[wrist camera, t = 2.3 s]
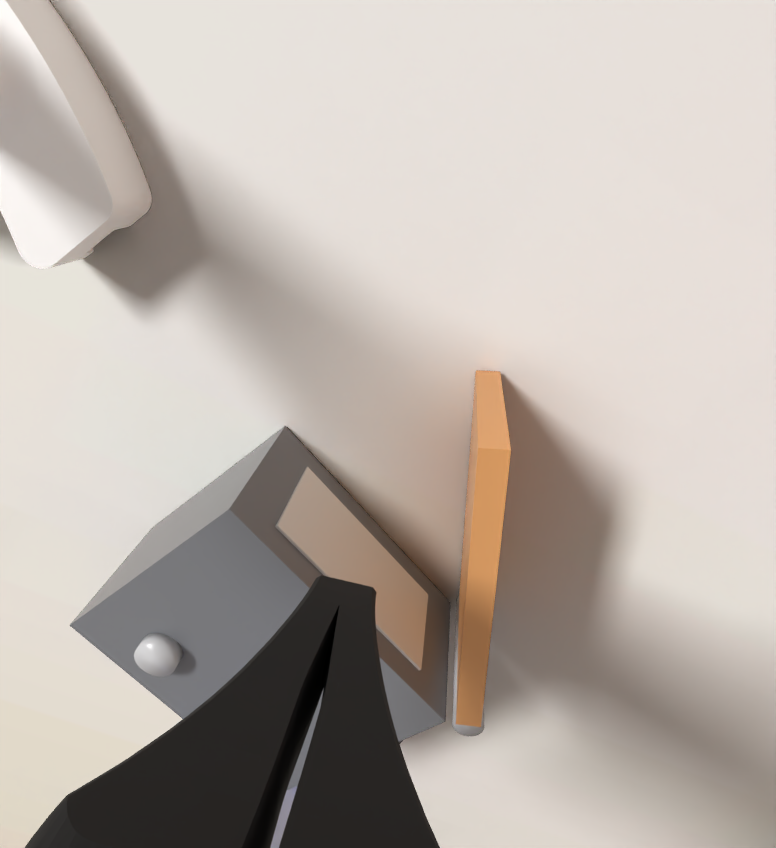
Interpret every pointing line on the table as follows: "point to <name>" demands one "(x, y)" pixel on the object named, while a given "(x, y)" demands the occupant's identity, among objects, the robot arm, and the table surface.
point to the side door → (480, 550)
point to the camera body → (266, 588)
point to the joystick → (59, 143)
